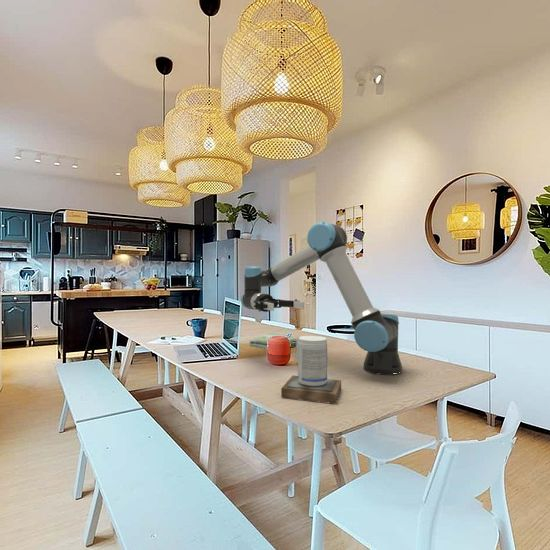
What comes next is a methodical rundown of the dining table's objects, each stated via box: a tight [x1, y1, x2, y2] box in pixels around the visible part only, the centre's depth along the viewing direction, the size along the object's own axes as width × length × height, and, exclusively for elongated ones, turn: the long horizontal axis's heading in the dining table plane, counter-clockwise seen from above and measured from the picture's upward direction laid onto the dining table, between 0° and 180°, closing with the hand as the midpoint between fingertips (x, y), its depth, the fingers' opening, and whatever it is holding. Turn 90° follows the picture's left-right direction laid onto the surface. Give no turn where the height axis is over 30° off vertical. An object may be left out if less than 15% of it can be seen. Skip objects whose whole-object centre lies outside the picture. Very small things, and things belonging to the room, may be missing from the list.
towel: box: [249, 332, 297, 349], centre depth 197 cm, size 18×21×5 cm
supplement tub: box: [297, 335, 328, 386], centre depth 121 cm, size 10×10×15 cm
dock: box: [280, 375, 342, 404], centre depth 121 cm, size 17×15×3 cm
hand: (288, 306), depth 141 cm, fingers open, 13 cm apart
